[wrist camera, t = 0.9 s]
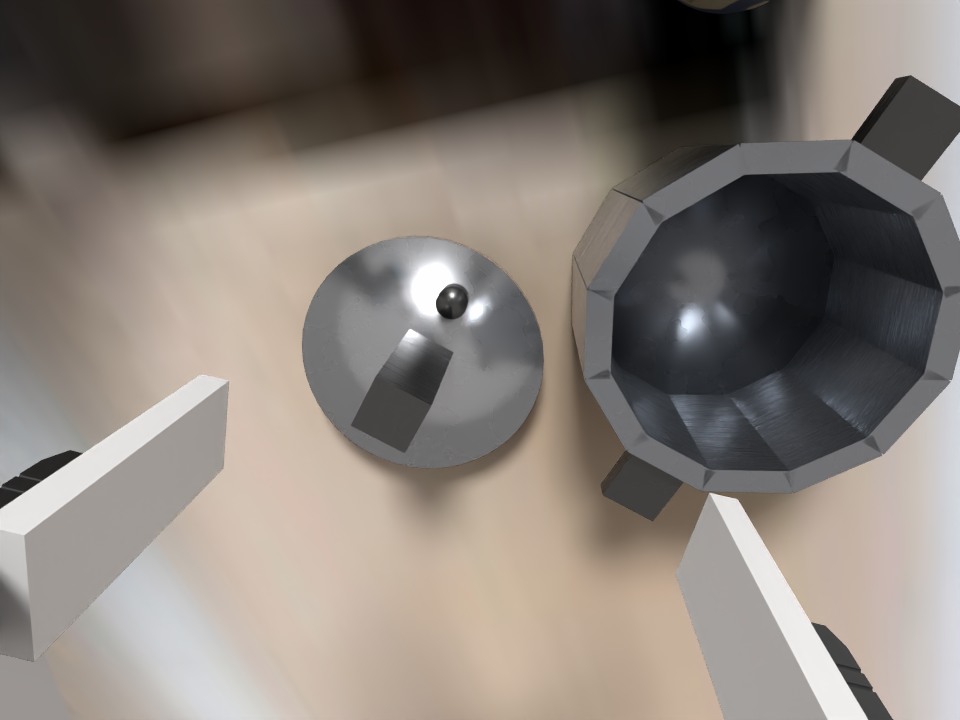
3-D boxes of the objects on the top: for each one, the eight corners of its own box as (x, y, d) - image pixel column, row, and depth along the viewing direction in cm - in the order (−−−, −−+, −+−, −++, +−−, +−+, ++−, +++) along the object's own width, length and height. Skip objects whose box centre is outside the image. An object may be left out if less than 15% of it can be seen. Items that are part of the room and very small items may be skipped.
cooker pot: (502, 371, 38) (491, 443, 29) (703, 35, 31) (777, -19, 21) (708, 482, 39) (762, 585, 30) (948, 185, 32) (1120, 197, 23)
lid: (284, 385, 40) (200, 462, 30) (373, 186, 35) (308, 198, 25) (475, 484, 41) (456, 589, 31) (587, 305, 36) (607, 362, 26)
